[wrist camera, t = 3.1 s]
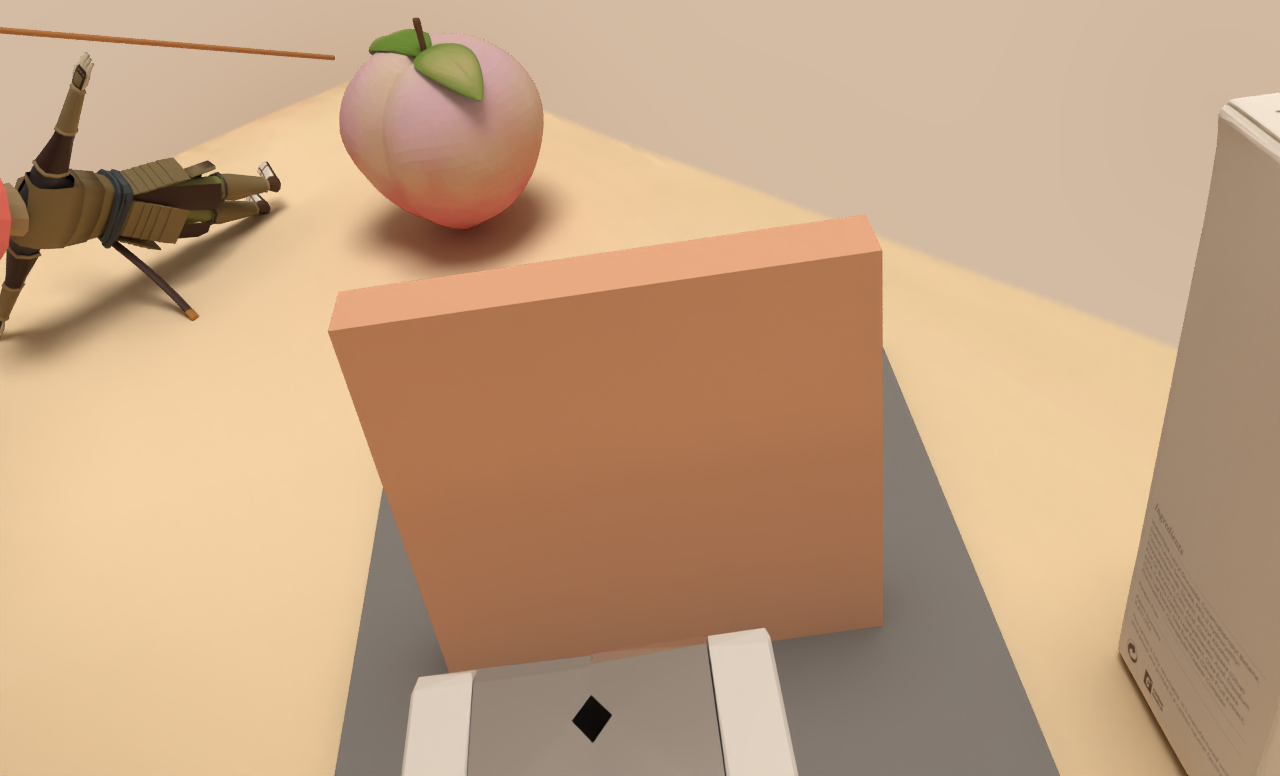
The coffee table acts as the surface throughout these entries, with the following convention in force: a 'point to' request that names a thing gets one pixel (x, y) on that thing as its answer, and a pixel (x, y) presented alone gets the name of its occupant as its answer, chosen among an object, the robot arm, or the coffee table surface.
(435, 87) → the decorative fruit
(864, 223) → the tile
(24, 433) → the coffee table surface
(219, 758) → the coffee table surface
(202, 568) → the coffee table surface
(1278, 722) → the skincare box
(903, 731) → the mat
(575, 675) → the robot arm
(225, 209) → the samurai figurine
